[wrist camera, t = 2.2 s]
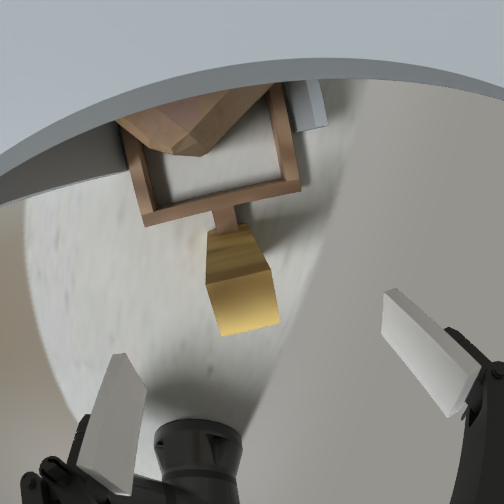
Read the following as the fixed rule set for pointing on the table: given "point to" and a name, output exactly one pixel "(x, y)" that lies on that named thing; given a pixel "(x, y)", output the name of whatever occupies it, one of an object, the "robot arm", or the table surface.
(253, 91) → the wooden block
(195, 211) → the pull yoke
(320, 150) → the table surface
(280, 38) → the shelf
